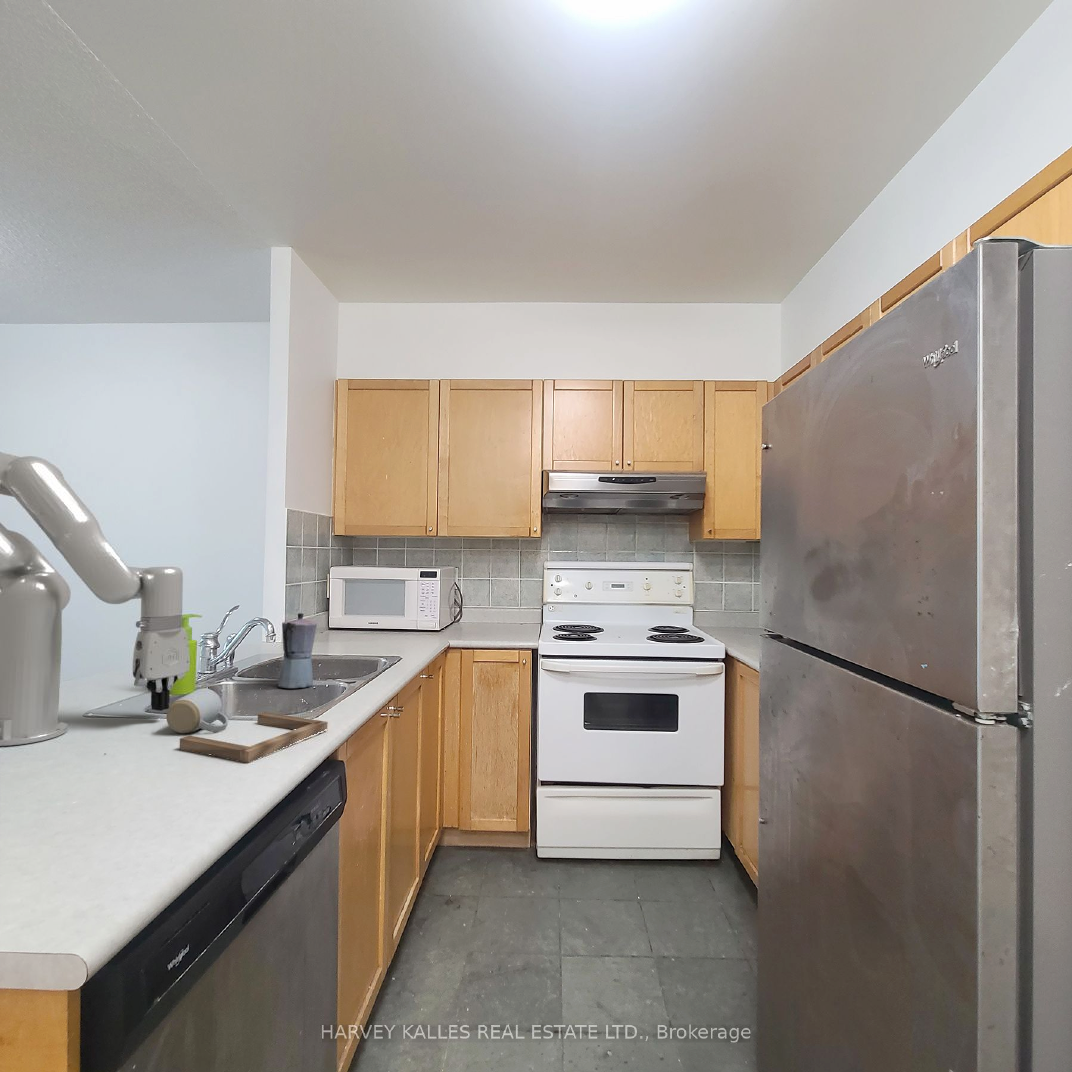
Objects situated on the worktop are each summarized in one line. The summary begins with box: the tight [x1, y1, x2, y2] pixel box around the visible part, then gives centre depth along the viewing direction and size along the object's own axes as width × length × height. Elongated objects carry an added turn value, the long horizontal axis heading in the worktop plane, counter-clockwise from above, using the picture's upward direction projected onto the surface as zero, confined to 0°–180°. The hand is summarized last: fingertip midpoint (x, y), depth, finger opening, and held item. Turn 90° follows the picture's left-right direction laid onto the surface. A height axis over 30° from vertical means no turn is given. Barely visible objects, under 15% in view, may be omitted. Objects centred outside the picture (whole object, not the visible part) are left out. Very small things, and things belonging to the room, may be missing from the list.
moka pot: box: [277, 612, 318, 689], centre depth 159 cm, size 10×15×20 cm, turn 2°
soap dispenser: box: [170, 613, 203, 696], centre depth 151 cm, size 6×7×20 cm
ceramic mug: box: [165, 687, 229, 735], centre depth 120 cm, size 11×8×8 cm
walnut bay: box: [179, 711, 328, 763], centre depth 114 cm, size 20×17×2 cm
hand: (160, 709), depth 125 cm, fingers closed
